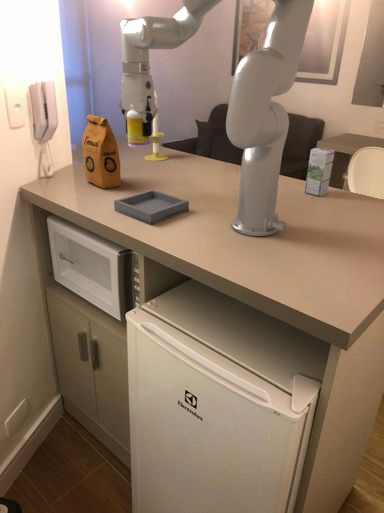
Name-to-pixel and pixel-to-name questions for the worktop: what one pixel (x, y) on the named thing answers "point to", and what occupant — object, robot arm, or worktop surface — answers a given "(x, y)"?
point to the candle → (156, 138)
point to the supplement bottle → (136, 130)
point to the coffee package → (101, 153)
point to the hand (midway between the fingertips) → (138, 134)
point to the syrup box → (319, 171)
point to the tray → (151, 206)
